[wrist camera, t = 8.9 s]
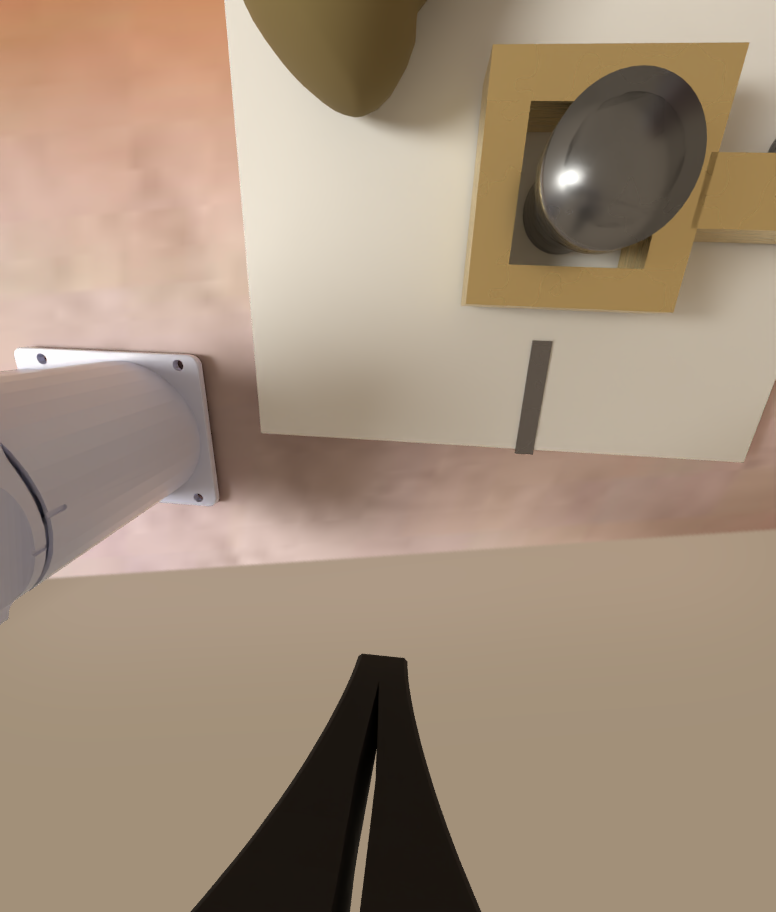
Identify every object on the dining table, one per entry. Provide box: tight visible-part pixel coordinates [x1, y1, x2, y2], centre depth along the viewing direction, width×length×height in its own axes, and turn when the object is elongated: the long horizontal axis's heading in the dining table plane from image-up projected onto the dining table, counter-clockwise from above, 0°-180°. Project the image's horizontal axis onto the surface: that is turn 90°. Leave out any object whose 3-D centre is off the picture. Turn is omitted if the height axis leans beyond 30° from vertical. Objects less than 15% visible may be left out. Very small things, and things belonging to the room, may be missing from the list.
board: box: [224, 0, 776, 463], centre depth 15 cm, size 22×17×1 cm
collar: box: [461, 42, 776, 313], centre depth 12 cm, size 13×7×3 cm, turn 88°
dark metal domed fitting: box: [515, 65, 776, 455], centre depth 13 cm, size 12×12×4 cm
